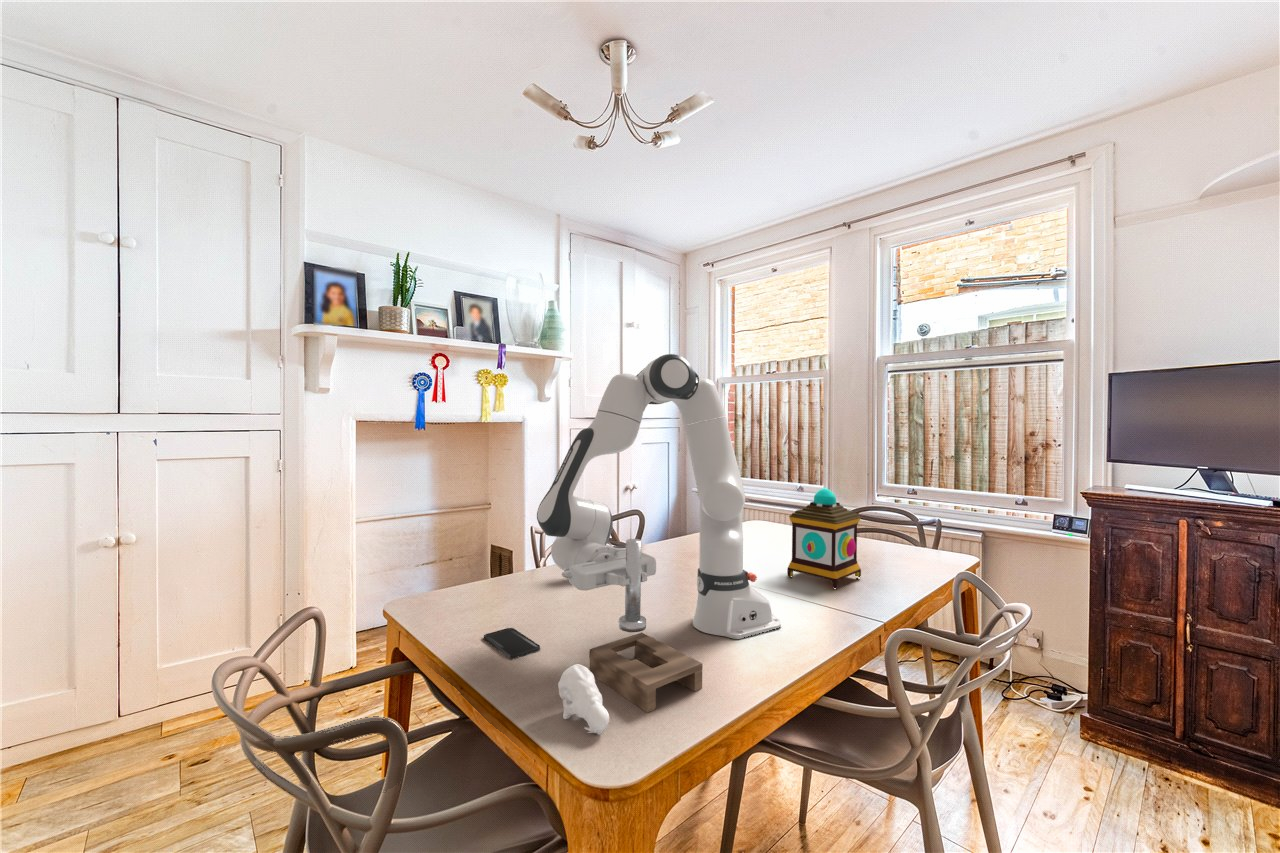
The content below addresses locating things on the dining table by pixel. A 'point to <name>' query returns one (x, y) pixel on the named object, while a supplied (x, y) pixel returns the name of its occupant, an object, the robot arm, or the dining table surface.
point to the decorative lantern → (824, 539)
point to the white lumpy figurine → (583, 698)
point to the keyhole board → (643, 668)
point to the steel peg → (633, 589)
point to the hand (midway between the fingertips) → (635, 580)
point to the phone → (511, 643)
